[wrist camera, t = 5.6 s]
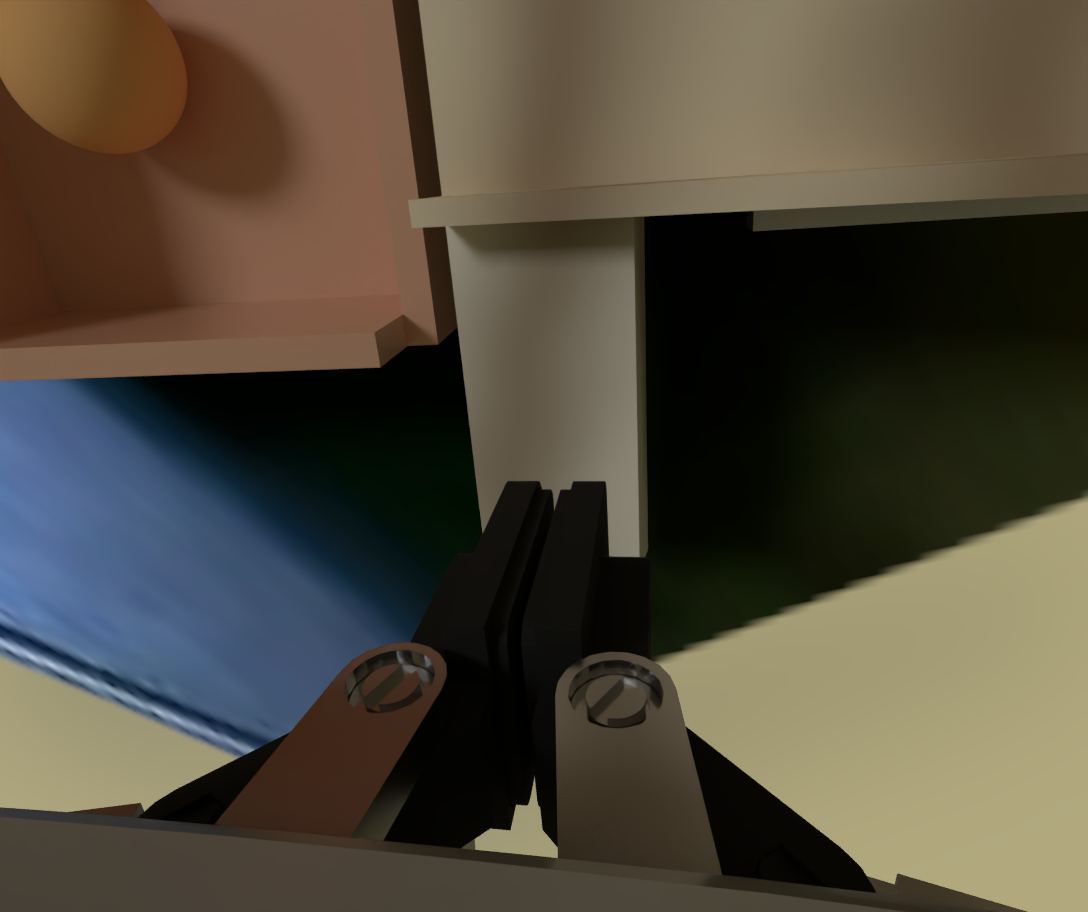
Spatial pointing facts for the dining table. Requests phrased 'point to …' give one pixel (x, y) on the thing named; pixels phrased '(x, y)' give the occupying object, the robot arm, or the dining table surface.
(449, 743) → the robot arm
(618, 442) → the tray
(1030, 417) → the dining table surface
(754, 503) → the dining table surface
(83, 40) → the ball
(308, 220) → the pink open box
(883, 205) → the pivot stand
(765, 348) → the dining table surface
